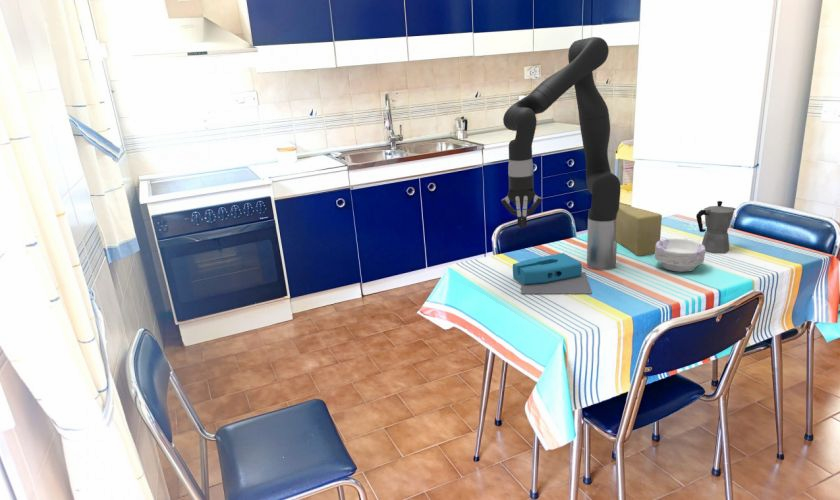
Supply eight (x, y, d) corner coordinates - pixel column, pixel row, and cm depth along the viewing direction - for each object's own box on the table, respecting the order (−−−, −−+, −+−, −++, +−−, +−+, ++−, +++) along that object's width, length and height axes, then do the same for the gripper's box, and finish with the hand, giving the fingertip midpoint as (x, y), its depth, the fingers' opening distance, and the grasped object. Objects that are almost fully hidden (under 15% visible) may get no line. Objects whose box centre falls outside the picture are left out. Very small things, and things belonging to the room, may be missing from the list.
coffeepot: (721, 243, 208) (726, 196, 202) (740, 250, 199) (746, 201, 194) (684, 248, 205) (688, 201, 199) (702, 256, 196) (707, 207, 191)
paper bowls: (709, 275, 181) (711, 252, 178) (659, 275, 183) (661, 252, 181) (695, 259, 195) (697, 237, 192) (649, 259, 198) (651, 238, 195)
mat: (585, 273, 190) (585, 272, 190) (592, 294, 173) (592, 293, 173) (520, 273, 193) (520, 272, 193) (521, 294, 176) (521, 293, 176)
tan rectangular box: (601, 240, 221) (603, 203, 216) (623, 236, 223) (624, 200, 219) (637, 257, 201) (639, 216, 196) (660, 253, 203) (663, 213, 198)
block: (527, 287, 181) (581, 276, 186) (527, 273, 179) (581, 262, 184) (510, 275, 191) (562, 265, 197) (510, 261, 190) (562, 252, 195)
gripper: (542, 170, 175) (542, 223, 181) (499, 172, 178) (501, 224, 183) (543, 174, 168) (544, 229, 174) (499, 177, 171) (501, 231, 176)
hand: (522, 227), depth 178 cm, fingers closed
